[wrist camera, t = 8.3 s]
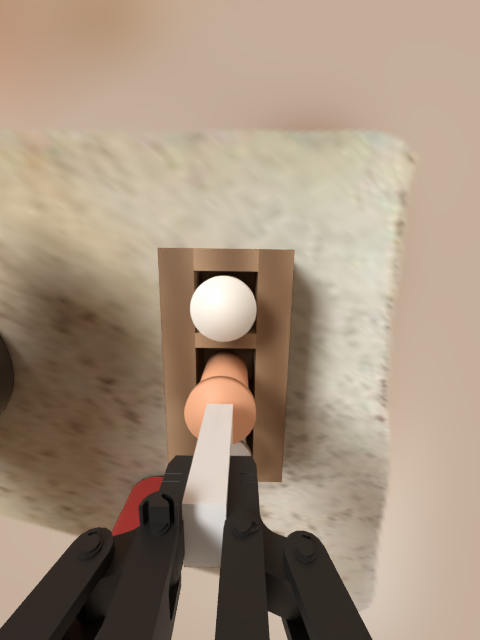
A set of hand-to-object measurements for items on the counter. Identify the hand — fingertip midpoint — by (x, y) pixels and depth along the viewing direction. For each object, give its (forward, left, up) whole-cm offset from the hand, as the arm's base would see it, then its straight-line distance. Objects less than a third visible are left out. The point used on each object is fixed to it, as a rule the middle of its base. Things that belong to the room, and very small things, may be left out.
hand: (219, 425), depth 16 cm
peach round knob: (0, 0, -8) cm, 8 cm away
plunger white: (0, +6, -11) cm, 12 cm away
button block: (0, 0, -13) cm, 13 cm away
